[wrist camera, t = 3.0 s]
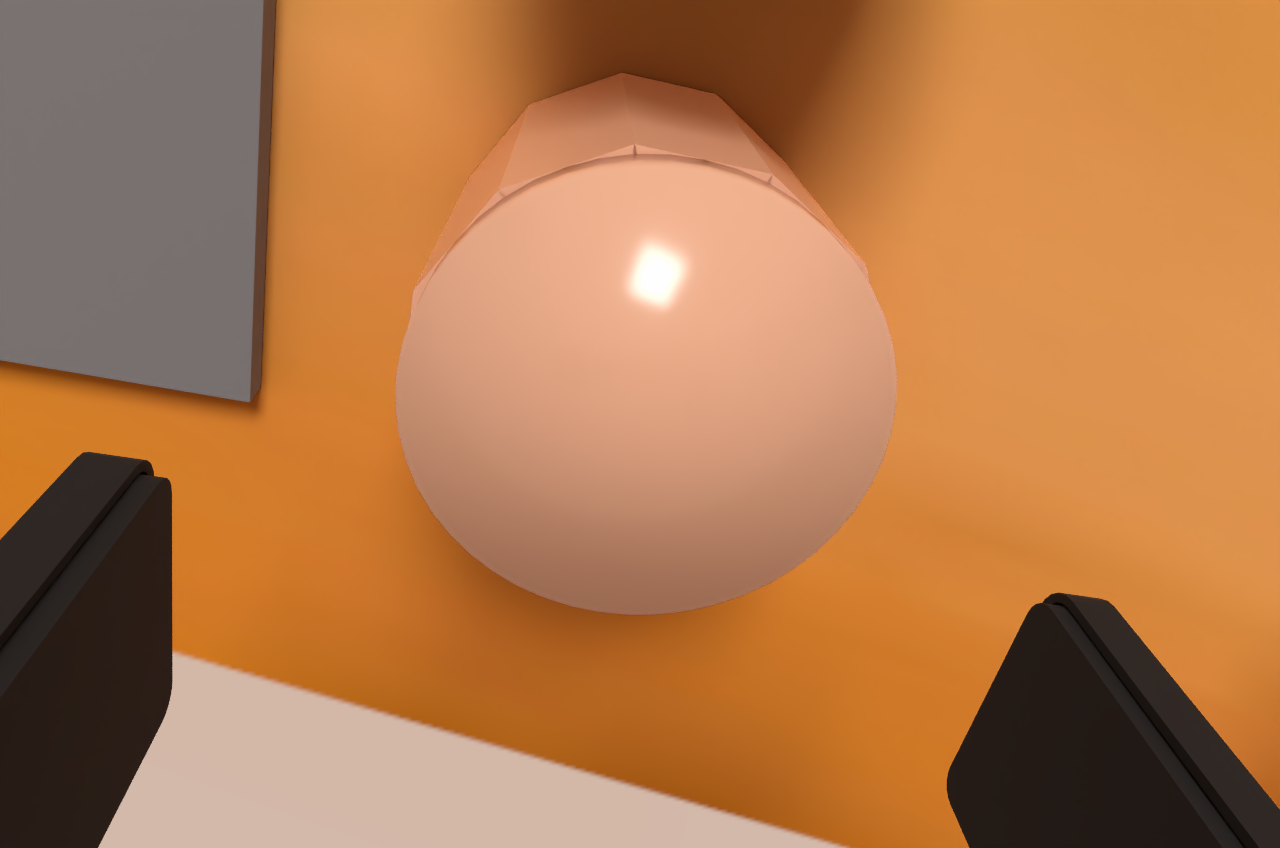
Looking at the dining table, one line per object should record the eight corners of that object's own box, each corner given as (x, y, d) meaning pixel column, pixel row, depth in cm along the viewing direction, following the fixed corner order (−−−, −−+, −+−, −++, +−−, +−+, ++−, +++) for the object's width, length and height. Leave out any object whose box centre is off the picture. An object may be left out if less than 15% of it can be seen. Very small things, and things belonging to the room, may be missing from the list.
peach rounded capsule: (488, 41, 19) (425, 111, 12) (841, 122, 20) (973, 228, 13) (442, 374, 23) (373, 579, 16) (746, 428, 24) (811, 643, 17)
